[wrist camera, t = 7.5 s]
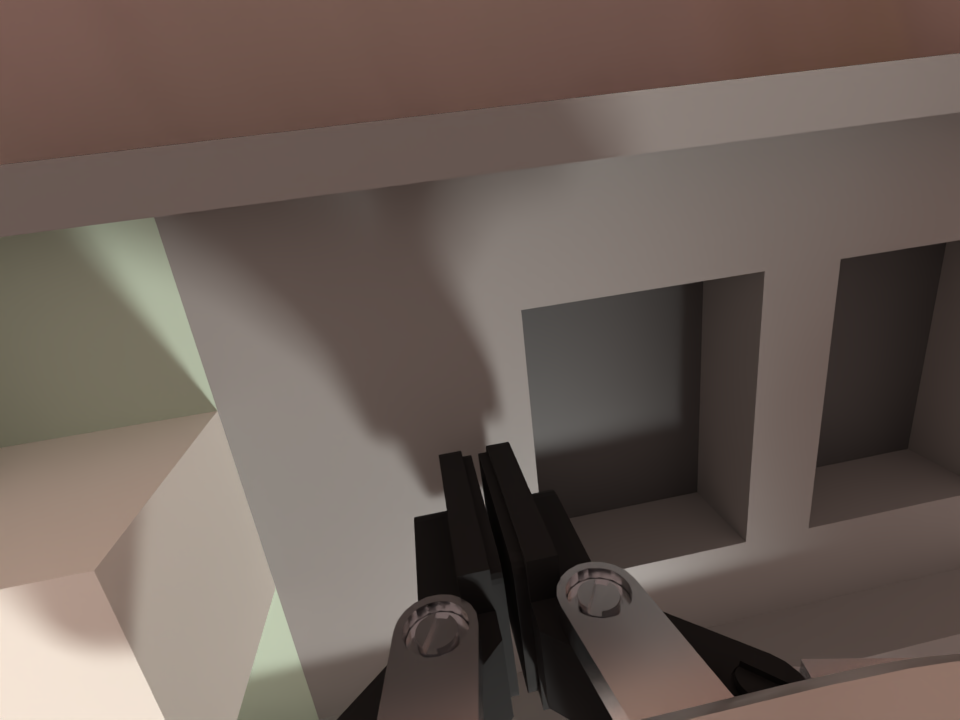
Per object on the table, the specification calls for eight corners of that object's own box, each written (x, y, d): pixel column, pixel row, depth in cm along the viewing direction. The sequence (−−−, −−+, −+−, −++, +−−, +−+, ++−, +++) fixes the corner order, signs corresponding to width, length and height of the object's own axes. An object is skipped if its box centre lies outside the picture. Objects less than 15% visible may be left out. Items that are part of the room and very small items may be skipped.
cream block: (217, 410, 11) (94, 570, 7) (275, 587, 13) (209, 813, 8) (-29, 452, 11) (-349, 658, 6) (65, 631, 13) (-129, 897, 8)
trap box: (995, 68, 15) (1364, -1, 9) (904, 528, 20) (1099, 661, 15) (-80, 199, 12) (-509, 214, 6) (156, 695, 17) (42, 942, 12)
